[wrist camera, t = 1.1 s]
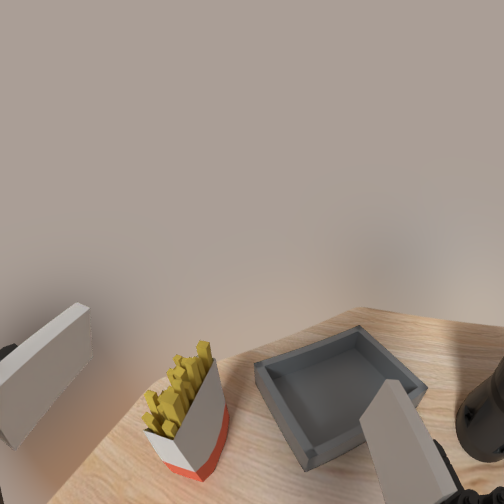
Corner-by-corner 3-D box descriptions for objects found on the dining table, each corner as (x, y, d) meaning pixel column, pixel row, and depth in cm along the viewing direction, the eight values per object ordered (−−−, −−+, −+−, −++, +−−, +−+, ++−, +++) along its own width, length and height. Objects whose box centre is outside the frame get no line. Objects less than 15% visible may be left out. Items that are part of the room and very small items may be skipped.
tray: (355, 345, 47) (359, 325, 45) (417, 406, 31) (428, 387, 29) (255, 383, 41) (253, 363, 39) (304, 472, 25) (308, 459, 23)
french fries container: (175, 476, 25) (116, 404, 18) (202, 419, 34) (171, 329, 27) (207, 487, 24) (162, 422, 17) (232, 425, 33) (211, 336, 26)
